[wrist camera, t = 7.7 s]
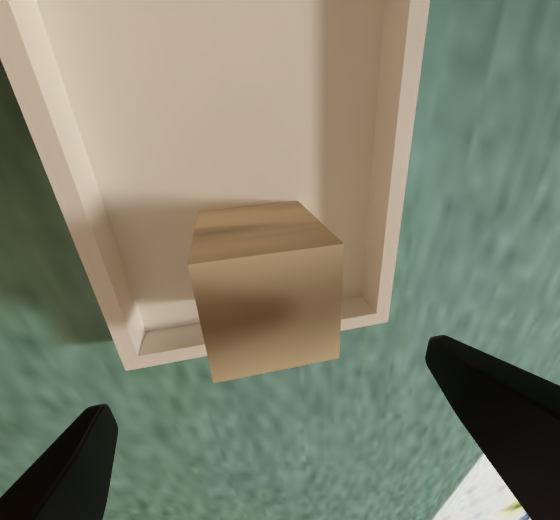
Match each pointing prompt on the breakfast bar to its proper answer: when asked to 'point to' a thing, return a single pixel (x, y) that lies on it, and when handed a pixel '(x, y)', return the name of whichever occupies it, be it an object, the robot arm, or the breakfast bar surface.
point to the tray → (216, 138)
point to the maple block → (266, 288)
